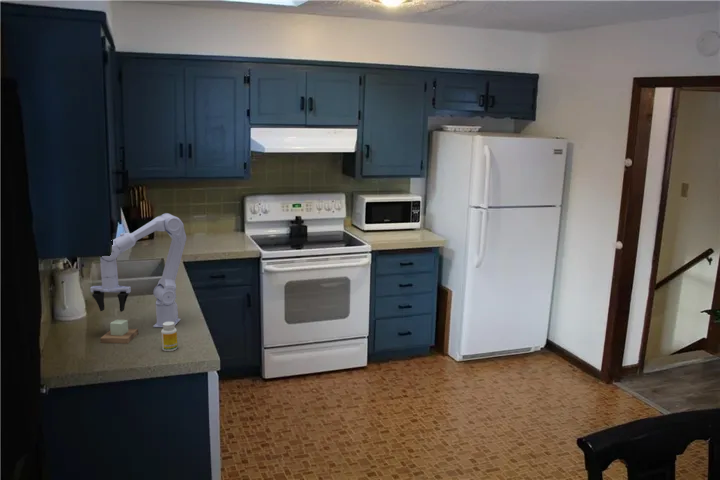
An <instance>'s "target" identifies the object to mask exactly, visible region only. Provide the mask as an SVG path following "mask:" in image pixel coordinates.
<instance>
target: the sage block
mask: <svg viewBox="0 0 720 480" xmlns="http://www.w3.org/2000/svg"><path fill="white" fill-rule="evenodd" d="M128 322H129V321H128V319H119V318H117V319H114V320H113V321H111V322H110V323H109V331H111V335H119V336H122V335H124V334H125V333H127V332H128V329H129V323H128Z"/></svg>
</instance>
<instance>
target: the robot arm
mask: <svg viewBox="0 0 720 480" xmlns="http://www.w3.org/2000/svg"><path fill="white" fill-rule="evenodd" d="M154 232H166V233H167V234H168V236H169V237H170V239H171V242H170V245H169V249H168V253H167V257H166V261H165V264H164V267H163V271H162V275H161V278H160V279H159V280H158V282H157V285H156V286H155V287H154V289H153V296H154V297H155V299H156V301H155V313H156V316H155V317H156V323H155V324H154V325H152V327H153V328H163V323H165V322H174V323H175V326H176V325H177V324H178V323H179V322H180V321H181V318H179V313H178V310H179V309H178V307H179V306H178V304H177V302H176V299H177V293H176V292H177V291H176V290H177V284H176V279H177V275H178V271H179V268H180V263H181V260H182V257H183V252H184V249H185V246H186V242H187V234H186V230H185V224H184V223H183V221H182V220H181V218H179V217H178V216H175V215H173V214H171V213H168V212H165V213H163V214H161V215H158V216H155V218H153V219H152V220H151V221H148V222H147V223H145V224H144V225H142V226H141V227H139V228H138V229H136V230H134V231H133V232H125V233H124V232H121V233H120V234H119V236H118V237H116V238H114V239H112V240H113V245H112V253H111V255H110V256H102V257H99V261H100V264H99V265H100V273H101V274H100V277H101V285H92V286H91V287H89V289H90V293H92V295H91V296H92V297H93V299H94V300H95V301H96V303H97V305H98V308H99V311H100V312H103V311H104V310H105V293H118V294H117V298H118V299H117V300H118V303H119V312H121V313H122V312H123V311H125V306H126V302H127V299H128V296H129V294H130V293H131V291H132V289H131V286H127V285H119V274H118V264H117V263H118V262H117V258H118V256H119V255H121V254H122V253H124V252H126V251H127V250H129V249H131V248H133V247H134V246H135V245H136V242H137V241H138V240H141V239H143V238H144V237H147V236H148V235H150V234H152V233H154Z"/></svg>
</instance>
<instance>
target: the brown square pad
mask: <svg viewBox="0 0 720 480" xmlns="http://www.w3.org/2000/svg"><path fill="white" fill-rule="evenodd" d="M136 335H137V336H138V335H139V329H138V328H128V332H127V333H125V334H124V335H122V336H119V335H111V331H110V330H109V331H107V332H106V333H105V334H104V335H102V336H101V337H100V344H127V345H128V344H129V343H130V342H132V340H134V339H135V338H136V337H137V336H136Z"/></svg>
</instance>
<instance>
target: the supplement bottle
mask: <svg viewBox="0 0 720 480" xmlns="http://www.w3.org/2000/svg"><path fill="white" fill-rule="evenodd" d="M175 326H176V325H175V323H174V322H165V323H163V327H162V329H161V331H160V334H161V335H160V336H161V337H160V338H161V350H162V351H164V352H172V351H173V352H174V351H175V350H177V349H178V347H179V346H178V333H177V332H178V330H177V328H176V327H175Z"/></svg>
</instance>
